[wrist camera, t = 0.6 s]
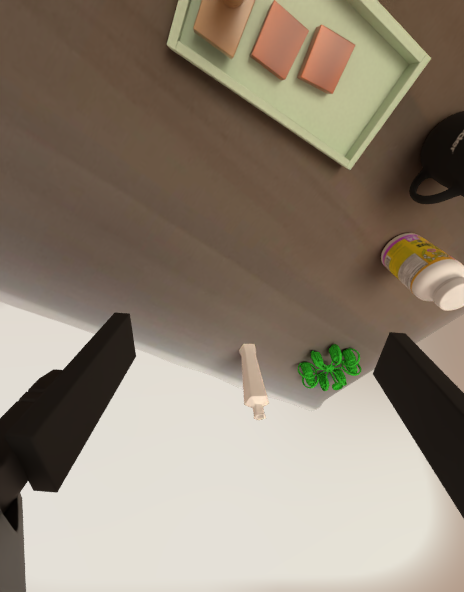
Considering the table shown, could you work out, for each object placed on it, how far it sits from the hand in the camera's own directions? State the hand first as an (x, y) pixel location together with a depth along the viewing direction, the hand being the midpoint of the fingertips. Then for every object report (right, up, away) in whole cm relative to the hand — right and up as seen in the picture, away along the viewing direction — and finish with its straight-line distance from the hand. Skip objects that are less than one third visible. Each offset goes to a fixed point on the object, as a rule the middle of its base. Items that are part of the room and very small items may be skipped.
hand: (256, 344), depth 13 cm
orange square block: (+8, +27, +13) cm, 31 cm away
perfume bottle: (+2, -9, +42) cm, 43 cm away
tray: (+6, +28, +13) cm, 31 cm away
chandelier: (+21, -13, +48) cm, 54 cm away
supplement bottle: (+27, +10, +30) cm, 41 cm away
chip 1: (+3, +28, +12) cm, 30 cm away
